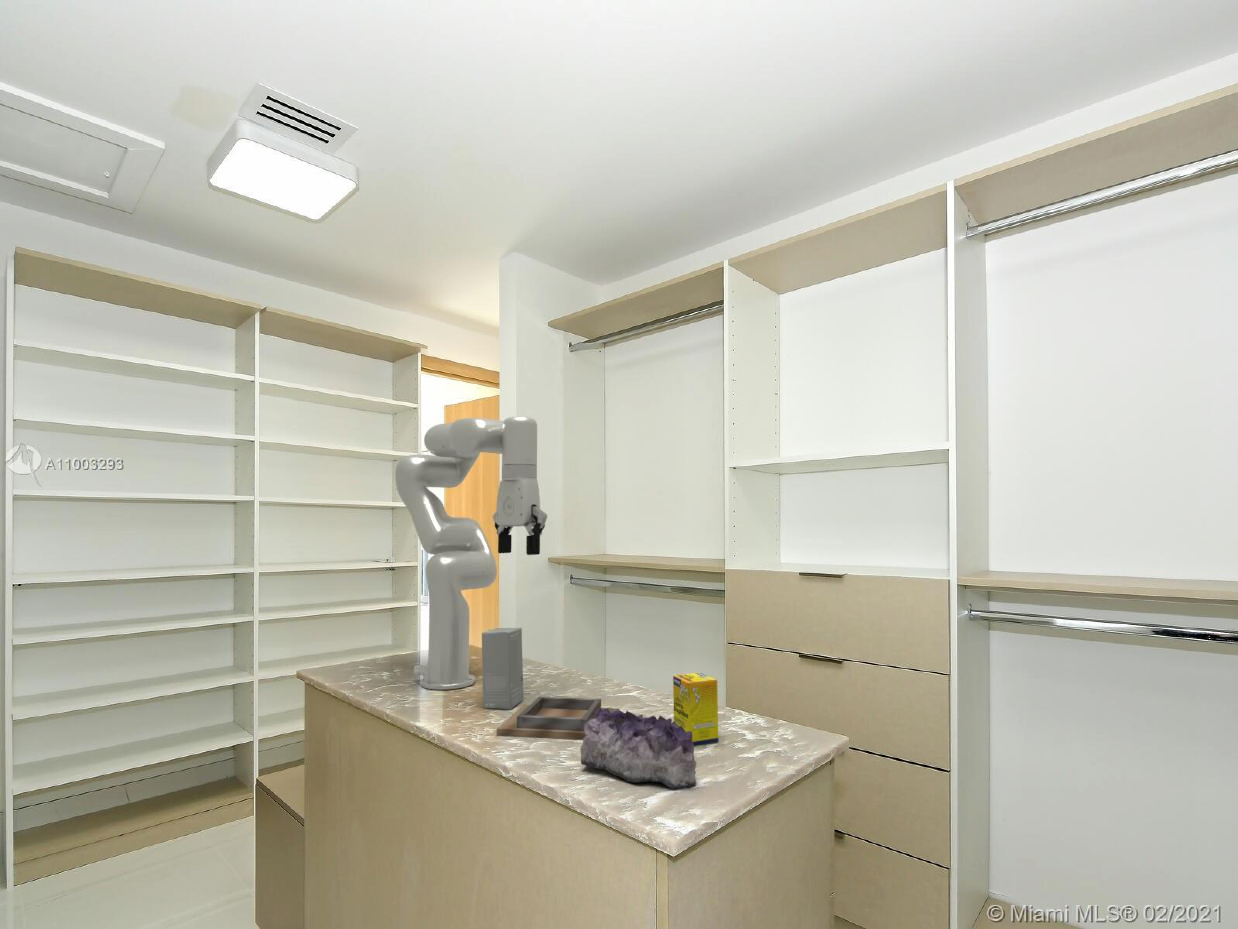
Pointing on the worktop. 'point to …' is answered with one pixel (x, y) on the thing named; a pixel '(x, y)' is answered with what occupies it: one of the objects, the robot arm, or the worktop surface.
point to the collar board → (552, 718)
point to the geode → (640, 748)
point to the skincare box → (502, 668)
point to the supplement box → (696, 706)
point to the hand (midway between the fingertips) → (518, 553)
